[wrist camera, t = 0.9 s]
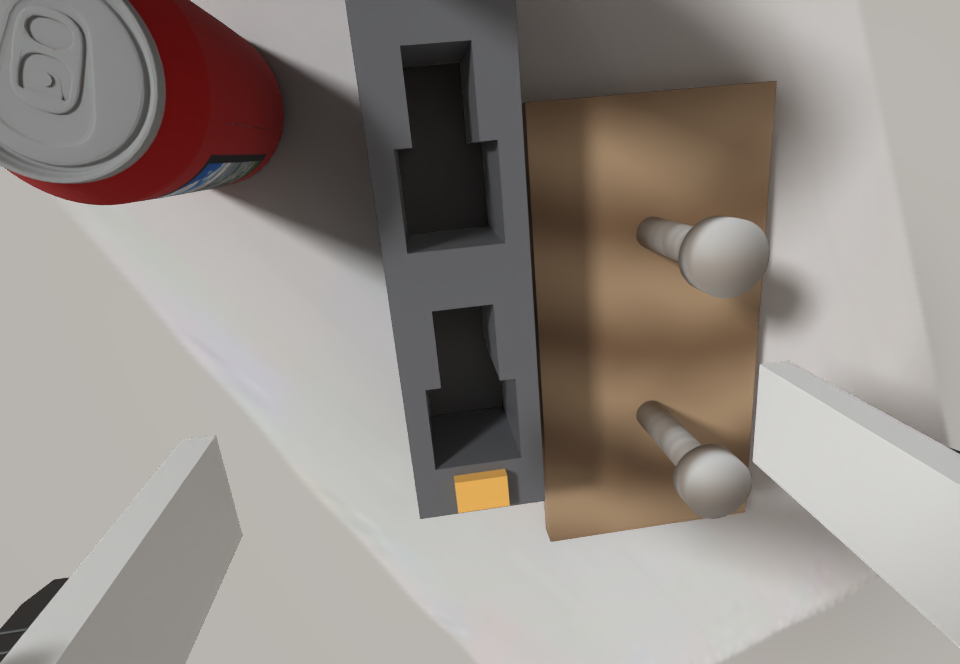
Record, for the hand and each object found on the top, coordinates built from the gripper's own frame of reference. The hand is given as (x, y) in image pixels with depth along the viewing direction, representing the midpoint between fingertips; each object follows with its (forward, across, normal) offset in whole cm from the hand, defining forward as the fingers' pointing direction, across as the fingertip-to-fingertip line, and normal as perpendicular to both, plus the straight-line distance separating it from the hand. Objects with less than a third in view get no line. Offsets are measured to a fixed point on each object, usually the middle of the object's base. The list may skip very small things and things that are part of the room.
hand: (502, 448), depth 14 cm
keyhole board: (+16, +10, -3) cm, 19 cm away
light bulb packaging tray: (+16, 0, +2) cm, 16 cm away
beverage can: (+16, -10, +10) cm, 21 cm away
